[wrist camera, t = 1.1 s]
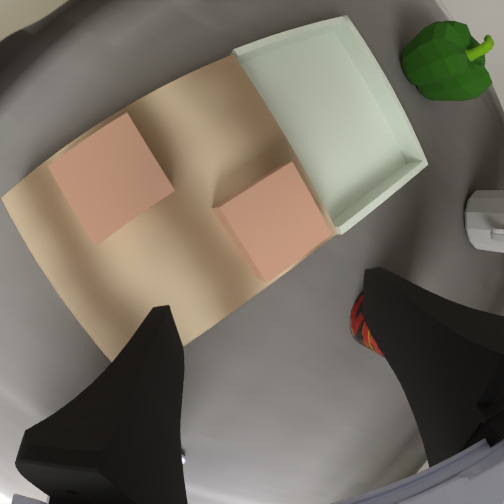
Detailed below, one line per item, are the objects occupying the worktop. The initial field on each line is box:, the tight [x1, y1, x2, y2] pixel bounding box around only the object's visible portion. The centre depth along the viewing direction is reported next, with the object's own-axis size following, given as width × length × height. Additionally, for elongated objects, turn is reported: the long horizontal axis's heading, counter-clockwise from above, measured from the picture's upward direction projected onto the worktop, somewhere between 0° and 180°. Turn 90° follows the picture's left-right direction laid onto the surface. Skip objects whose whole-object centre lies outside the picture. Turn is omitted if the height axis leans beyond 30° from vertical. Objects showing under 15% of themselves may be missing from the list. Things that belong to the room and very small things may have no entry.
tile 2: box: [48, 113, 175, 246], centre depth 16 cm, size 5×5×2 cm
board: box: [1, 54, 338, 362], centre depth 19 cm, size 17×14×3 cm
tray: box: [230, 15, 428, 235], centre depth 23 cm, size 12×15×2 cm
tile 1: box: [212, 162, 332, 283], centre depth 19 cm, size 5×5×2 cm
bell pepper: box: [401, 21, 494, 101], centre depth 22 cm, size 8×8×10 cm
